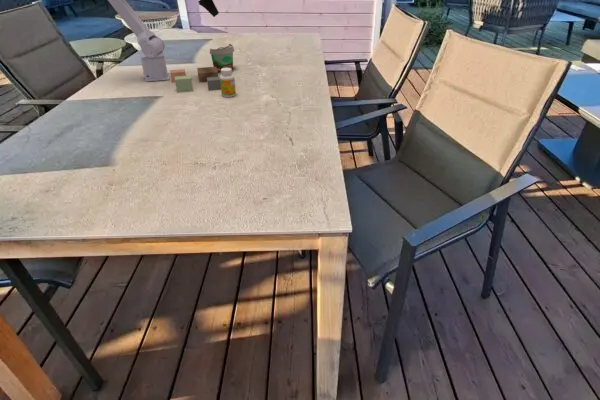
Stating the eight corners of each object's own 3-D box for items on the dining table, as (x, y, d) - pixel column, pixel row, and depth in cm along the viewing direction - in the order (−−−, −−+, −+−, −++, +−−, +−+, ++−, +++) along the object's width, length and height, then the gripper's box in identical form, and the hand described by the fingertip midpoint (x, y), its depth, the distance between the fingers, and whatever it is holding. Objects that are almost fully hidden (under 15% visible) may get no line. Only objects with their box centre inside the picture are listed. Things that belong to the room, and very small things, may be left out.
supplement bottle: (218, 95, 144) (215, 70, 138) (227, 91, 148) (224, 66, 142) (230, 98, 142) (227, 72, 136) (238, 94, 146) (236, 68, 140)
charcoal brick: (208, 90, 149) (207, 80, 146) (208, 87, 152) (206, 77, 150) (224, 89, 150) (223, 79, 148) (223, 86, 153) (222, 76, 151)
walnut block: (199, 83, 157) (198, 73, 155) (198, 77, 163) (197, 67, 161) (219, 81, 159) (217, 71, 156) (217, 76, 165) (216, 66, 163)
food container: (221, 75, 165) (218, 51, 159) (212, 72, 168) (209, 48, 162) (241, 68, 173) (239, 45, 167) (232, 66, 176) (229, 43, 170)
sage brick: (177, 92, 147) (174, 79, 144) (177, 89, 150) (174, 76, 147) (193, 91, 148) (191, 78, 145) (192, 87, 151) (190, 75, 148)
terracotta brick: (171, 82, 157) (170, 72, 154) (171, 79, 160) (170, 70, 157) (186, 81, 158) (185, 71, 156) (186, 78, 161) (184, 69, 159)
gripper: (200, -28, 133) (225, 7, 139) (200, -24, 146) (223, 9, 152) (184, -16, 134) (210, 19, 140) (186, -12, 146) (210, 20, 153)
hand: (216, 15), depth 146 cm, fingers open, 7 cm apart
